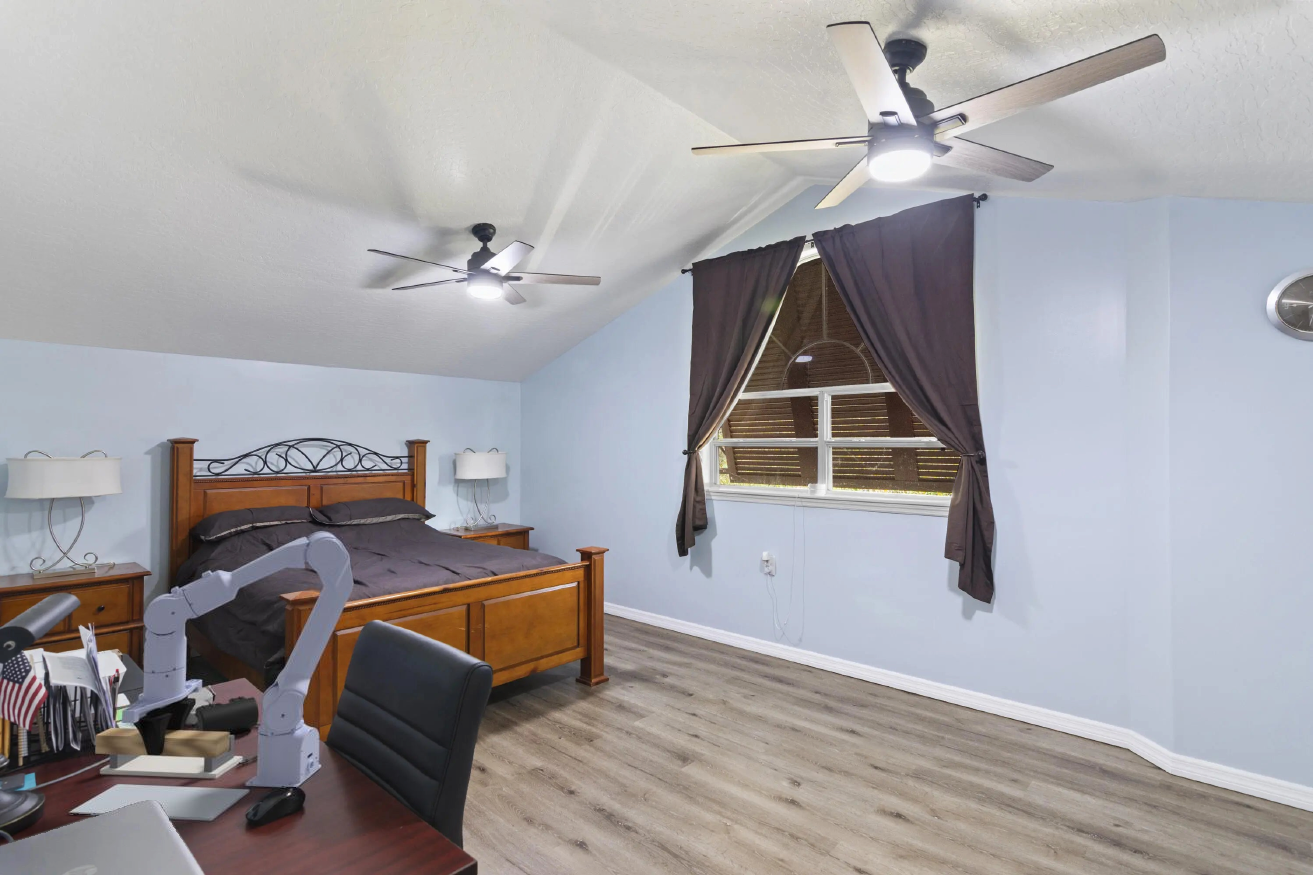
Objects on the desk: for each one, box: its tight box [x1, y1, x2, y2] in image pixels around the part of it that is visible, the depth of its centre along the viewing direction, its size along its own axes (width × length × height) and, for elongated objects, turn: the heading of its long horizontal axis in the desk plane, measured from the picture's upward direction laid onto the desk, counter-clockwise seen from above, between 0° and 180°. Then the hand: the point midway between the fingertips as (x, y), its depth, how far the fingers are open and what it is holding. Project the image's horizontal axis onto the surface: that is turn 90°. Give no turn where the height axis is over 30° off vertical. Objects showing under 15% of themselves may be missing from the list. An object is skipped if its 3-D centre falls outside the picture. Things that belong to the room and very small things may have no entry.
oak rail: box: [94, 727, 230, 758], centre depth 112 cm, size 21×3×3 cm, turn 86°
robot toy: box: [185, 685, 224, 726], centre depth 147 cm, size 12×4×15 cm
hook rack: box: [99, 734, 243, 780], centre depth 124 cm, size 22×7×5 cm, turn 86°
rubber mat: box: [68, 783, 250, 821], centre depth 112 cm, size 24×9×1 cm, turn 86°
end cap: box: [193, 695, 260, 735], centre depth 138 cm, size 10×7×7 cm
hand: (163, 749), depth 112 cm, fingers closed on oak rail, 3 cm apart
